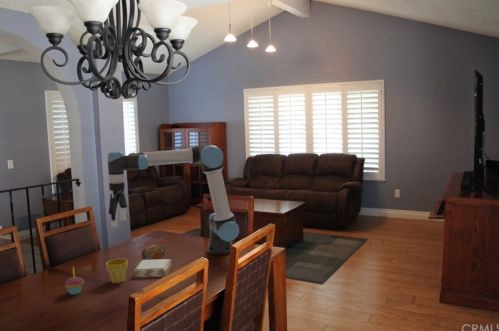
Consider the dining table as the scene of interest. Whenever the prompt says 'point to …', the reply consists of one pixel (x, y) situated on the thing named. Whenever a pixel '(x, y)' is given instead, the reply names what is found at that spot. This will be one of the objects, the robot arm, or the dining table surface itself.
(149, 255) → the tin
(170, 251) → the dining table surface
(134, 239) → the dining table surface
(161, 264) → the plinth
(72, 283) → the cupcake
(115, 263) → the plant pot
